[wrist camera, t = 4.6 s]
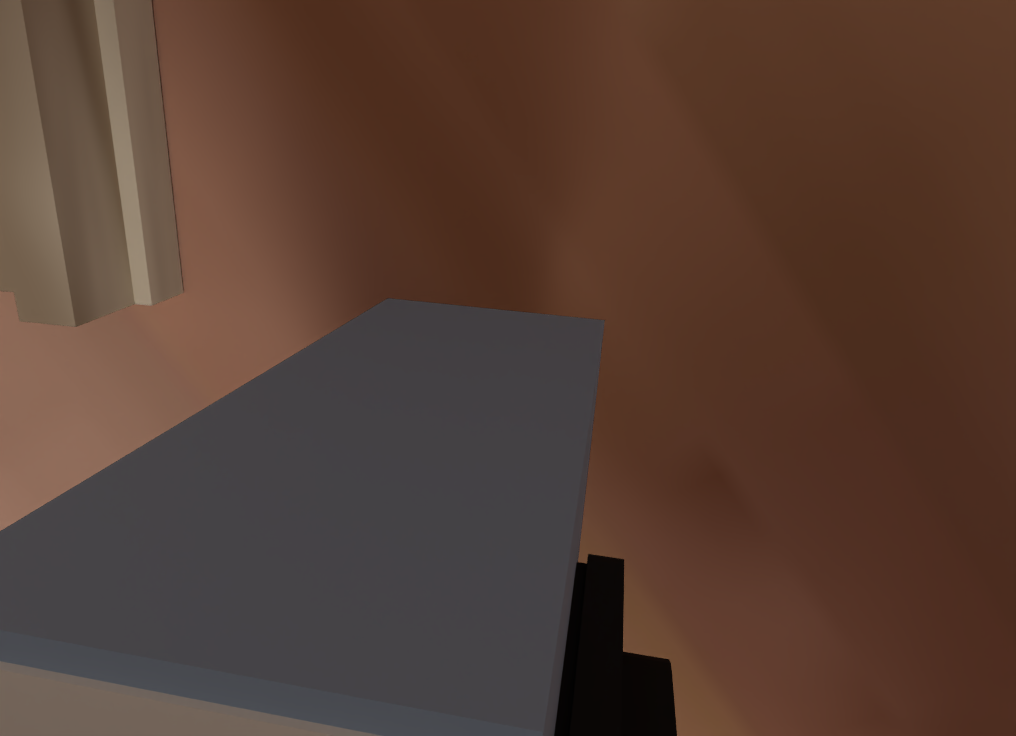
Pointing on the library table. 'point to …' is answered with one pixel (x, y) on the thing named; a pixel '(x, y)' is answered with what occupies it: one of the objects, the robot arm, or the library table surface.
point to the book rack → (83, 161)
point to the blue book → (323, 546)
